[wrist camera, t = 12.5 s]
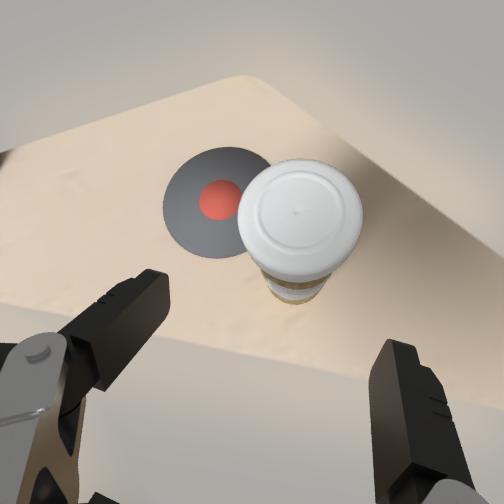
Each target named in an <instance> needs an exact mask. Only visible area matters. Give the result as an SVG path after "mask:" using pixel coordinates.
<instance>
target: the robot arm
mask: <svg viewBox="0 0 504 504" xmlns="http://www.w3.org/2000/svg"><path fill="white" fill-rule="evenodd" d="M169 309H170V290H169V277H168V275H167V274H166V273H162V272H159V271H155V270H152V269H146V270H144V271H143V272H142V273H141V274H140V275H138V276H137V277H136V278H135V279H134V278H129V279H127V280H125V281H123V282H120V283H118V284H117V285H115V286H114V287H113V288H112V289H110V290H109V291H108V292H107V293H106V295H103V296H102V297H101V298H99V299H98V300H97V302H94V303H93V304H92V305H91V306H89V307H88V308H87V309H86V310H84V311H83V312H82V313H81V314H80V315H78V316H77V317H76V318H75V319H73V320H72V321H71V322H70V323H68V324H67V325H66V326H65V327H63V328H62V329H61V330H60V331H59V332H57V333H54V332H48V333H41V334H37V335H34V336H32V337H29V338H27V339H25V340H23V341H22V342H20V343H19V344H17V343H16V344H15V343H0V504H78V499H79V473H78V456H79V449H80V442H81V434H82V427H83V420H84V412H85V405H86V394H87V393H88V392H89V391H90V389H91V388H92V387H94V388H97V389H99V390H101V391H104V392H105V391H106V390H107V389H108V387H109V386H110V385H111V384H112V383H113V381H114V380H115V379H116V378H117V377H118V375H119V374H120V373H121V372H122V371H123V369H124V368H125V367H126V366H127V365H128V363H129V362H130V361H131V360H132V358H133V357H134V356H135V355H136V354H137V352H138V351H139V350H140V349H141V347H142V346H143V345H144V344H145V343H146V342H147V340H148V339H149V338H150V337H151V336H152V334H153V333H154V332H155V331H156V330H157V328H158V327H159V326H160V325H161V323H162V322H163V321H164V320H165V318H166V317H167V315H168V313H169ZM369 401H370V418H371V435H372V451H373V467H374V484H375V500H376V504H489V503H488V502H487V501H486V500H485V499H484V498H483V497H482V496H481V495H479V494H478V493H477V492H476V490H475V487H474V485H473V482H472V479H471V475H470V472H469V469H468V466H467V463H466V460H465V457H464V453H463V450H462V447H461V444H460V441H459V437H458V435H457V431H456V428H455V425H454V422H453V421H452V415H451V412H450V409H449V406H447V403H448V402H447V399H446V396H445V393H444V389H443V386H442V384H441V383H440V381H439V380H438V379H437V377H436V376H435V374H434V373H433V371H432V370H431V369H430V368H428V367H425V366H422V365H420V362H419V358H418V354H417V350H416V348H415V346H413V345H410V344H406V343H403V342H399V341H396V340H392V339H387V340H386V342H385V344H384V345H383V347H382V349H381V351H380V353H379V355H378V357H377V359H376V361H375V363H374V365H373V367H372V369H371V372H370V377H369ZM80 504H119V503H117V502H115V501H113V500H111V499H109V498H107V497H105V496H103V495H101V494H99V493H97V492H95V493H94V495H93V496H92V498H91V499H90V501H89V502H88V503H80Z"/></svg>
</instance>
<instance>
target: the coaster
mask: <svg viewBox="0 0 504 504" xmlns="http://www.w3.org/2000/svg"><path fill="white" fill-rule="evenodd" d="M268 167H270V165H269V164H268V163H267V162H266V161H265V160H264V159H262V158H261V157H259V156H258V155H256V154H254V153H252V152H250V151H247V150H244V149H240V148H233V147H223V148H216V149H211V150H208V151H205V152H202V153H200V154H198V155H196V156H195V157H193V158H191V159H190V160H188V161H187V162H186V163H185V164H183V165H182V166H181V167H180V168H179V169H178V171H177V172H176V173H175V174H174V176H173V177H172V179H171V181H170V182H169V185H168V187H167V189H166V192H165V196H164V201H163V215H164V220H165V224H166V226H167V229H168V231H169V232H170V234H171V236H172V237H173V238H174V240H175V241H176V242H177V243H178V244H179V245H180V246H182V247H183V248H184V249H186V250H187V251H189V252H191V253H193V254H195V255H198V256H201V257H206V258H216V259H218V258H228V257H233V256H236V255H239V254H242V253H244V252H246V251H247V249H246V247H245V245H244V243H243V241H242V238H241V236H240V232H239V228H238V208H239V204H240V201H241V198H242V195H243V194H244V191H245V190H246V188H247V186H248V185H249V184H250V182H251V181H252V180H253V179H254V178H255V177H256V176H257V175H258V174H260V173H261V172H262V171H263V170H265V169H267V168H268Z"/></svg>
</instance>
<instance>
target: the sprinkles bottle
mask: <svg viewBox="0 0 504 504" xmlns="http://www.w3.org/2000/svg"><path fill="white" fill-rule="evenodd" d="M362 226H363V208H362V203H361V200H360V197H359V194H358V192H357V190H356V188H355V187H354V185H353V184H352V183H351V181H350V180H349V179H348V178H347V177H346V176H345V175H344V174H343V173H342V172H340V171H339V170H337V169H336V168H334V167H332V166H330V165H328V164H326V163H323V162H320V161H316V160H310V159H292V160H286V161H282V162H279V163H277V164H274V165H272V166H270V167H268V168H267V169H265V170H263V171H262V172H261V173H260V174H258V175H257V176H256V177H255V178H254V179H253V180H252V181H251V182H250V184H249V185H248V186H247V188H246V190H245V191H244V194H243V195H242V198H241V201H240V204H239V208H238V228H239V232H240V236H241V238H242V241H243V243H244V245H245V247H246V249H247V251H248V253H249V255H250V256H251V258H252V259H253V261H254V262H255V263H256V264H257V266H258V267H260V268H261V272H262V275H263V276H264V278H265V280H266V282H267V284H268V287H269V289H270V291H271V292H272V294H273V295H274V296H275V297H276V298H278V299H279V300H281V301H282V302H284V303H288V304H292V305H299V304H304V303H306V302H308V301H310V300H311V299H313V298H314V297H315V296H316V295H317V294H318V292H319V291H320V289H321V287H322V286H323V285H324V283H325V282H326V281H327V279H328V278H329V277H330V275H331V274H332V272H333V271H335V270H336V269H337V268H338V267H339V266H340V265H341V264H342V263H343V262H344V261H345V260H346V258H347V257H348V256H349V254H350V253H351V251H352V250H353V248H354V246H355V245H356V243H357V241H358V239H359V236H360V233H361V230H362Z"/></svg>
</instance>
